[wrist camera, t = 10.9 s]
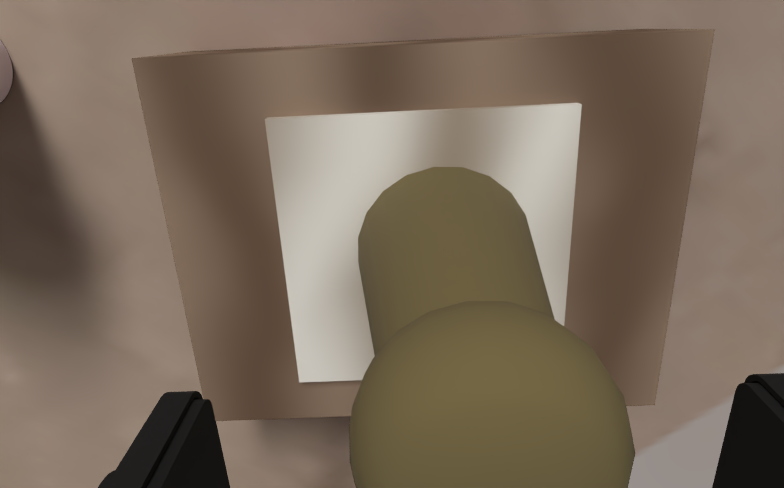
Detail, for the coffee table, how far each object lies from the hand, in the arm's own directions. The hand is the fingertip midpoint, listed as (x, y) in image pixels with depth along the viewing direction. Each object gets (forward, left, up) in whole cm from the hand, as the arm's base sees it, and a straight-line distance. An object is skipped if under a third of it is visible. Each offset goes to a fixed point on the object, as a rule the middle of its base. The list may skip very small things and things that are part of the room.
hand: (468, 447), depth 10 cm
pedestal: (0, 0, -15) cm, 15 cm away
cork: (0, 0, -10) cm, 10 cm away
